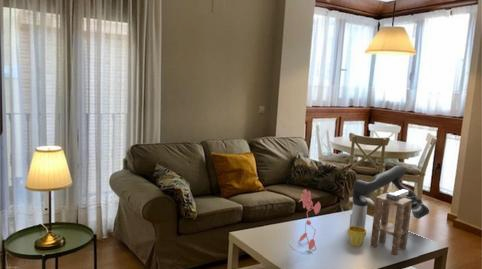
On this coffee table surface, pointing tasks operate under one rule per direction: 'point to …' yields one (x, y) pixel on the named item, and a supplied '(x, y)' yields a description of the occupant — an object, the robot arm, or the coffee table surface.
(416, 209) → the robot arm
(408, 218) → the walnut stand
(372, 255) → the coffee table surface
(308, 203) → the figurine
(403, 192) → the brushed grey block
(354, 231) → the plant pot
